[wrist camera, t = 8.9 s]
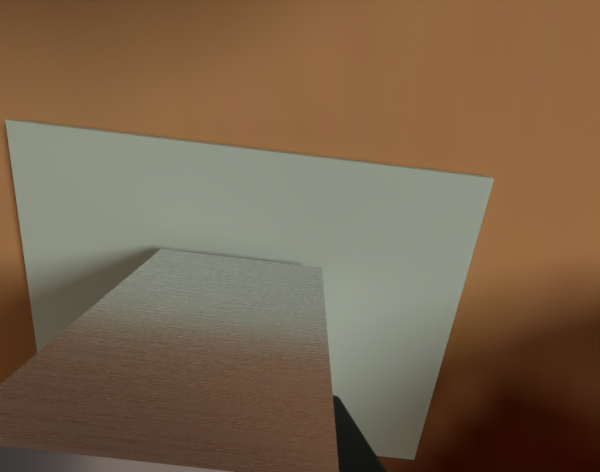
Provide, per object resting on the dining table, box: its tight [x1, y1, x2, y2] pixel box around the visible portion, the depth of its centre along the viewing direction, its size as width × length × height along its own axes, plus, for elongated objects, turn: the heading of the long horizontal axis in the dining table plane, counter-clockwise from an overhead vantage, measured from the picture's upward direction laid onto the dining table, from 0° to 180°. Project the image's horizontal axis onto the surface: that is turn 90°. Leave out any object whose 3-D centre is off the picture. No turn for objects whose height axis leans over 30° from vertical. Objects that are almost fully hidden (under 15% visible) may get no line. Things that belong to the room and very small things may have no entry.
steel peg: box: [0, 249, 339, 472], centre depth 7 cm, size 4×4×6 cm
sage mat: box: [5, 120, 494, 460], centre depth 11 cm, size 13×10×1 cm
